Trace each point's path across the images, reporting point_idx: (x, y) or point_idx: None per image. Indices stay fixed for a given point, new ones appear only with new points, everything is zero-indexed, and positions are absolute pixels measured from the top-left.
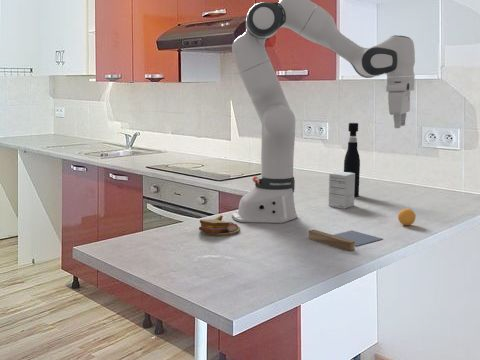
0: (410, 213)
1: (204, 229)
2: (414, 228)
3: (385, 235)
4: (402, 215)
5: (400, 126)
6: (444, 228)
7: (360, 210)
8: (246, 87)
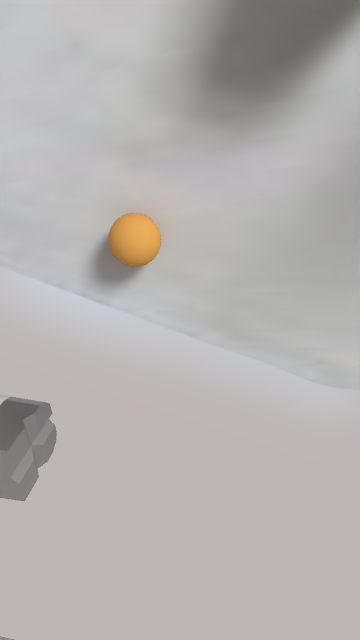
0: (115, 256)
1: None
2: None
3: (3, 190)
4: (110, 231)
5: (42, 455)
6: (153, 320)
7: (314, 13)
8: None
